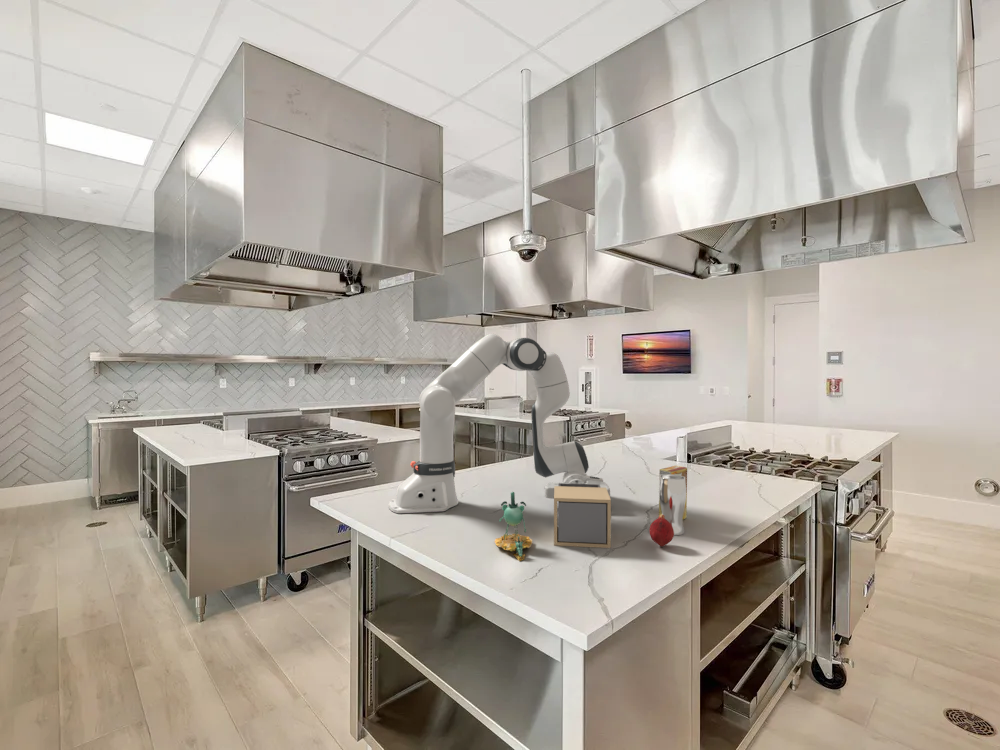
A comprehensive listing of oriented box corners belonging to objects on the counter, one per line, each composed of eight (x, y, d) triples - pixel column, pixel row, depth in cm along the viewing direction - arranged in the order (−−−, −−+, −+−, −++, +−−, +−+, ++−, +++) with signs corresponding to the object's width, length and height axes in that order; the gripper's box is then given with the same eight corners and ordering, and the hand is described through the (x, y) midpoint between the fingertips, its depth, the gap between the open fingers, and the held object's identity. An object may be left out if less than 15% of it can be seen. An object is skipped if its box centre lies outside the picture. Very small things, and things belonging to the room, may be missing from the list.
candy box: (674, 515, 143) (674, 464, 143) (687, 518, 139) (687, 467, 139) (658, 521, 137) (658, 468, 137) (671, 524, 134) (671, 471, 134)
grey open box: (558, 516, 138) (558, 483, 138) (599, 518, 136) (599, 484, 136) (558, 541, 118) (558, 502, 118) (606, 543, 117) (606, 504, 117)
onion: (670, 552, 113) (670, 519, 113) (646, 548, 117) (646, 515, 116) (675, 545, 118) (676, 513, 118) (652, 540, 121) (652, 509, 121)
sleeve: (554, 529, 130) (554, 486, 130) (605, 531, 128) (606, 487, 128) (553, 545, 118) (554, 497, 118) (610, 548, 117) (610, 499, 116)
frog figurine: (489, 561, 109) (489, 496, 110) (497, 542, 127) (497, 486, 128) (531, 562, 108) (530, 496, 109) (533, 542, 126) (532, 486, 127)
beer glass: (689, 531, 129) (690, 476, 128) (679, 537, 123) (679, 481, 123) (665, 525, 133) (665, 472, 133) (654, 531, 128) (654, 476, 128)
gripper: (544, 476, 156) (543, 486, 143) (607, 478, 154) (612, 488, 140) (544, 495, 156) (543, 507, 143) (607, 497, 154) (612, 510, 140)
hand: (578, 498), depth 141 cm, fingers closed
